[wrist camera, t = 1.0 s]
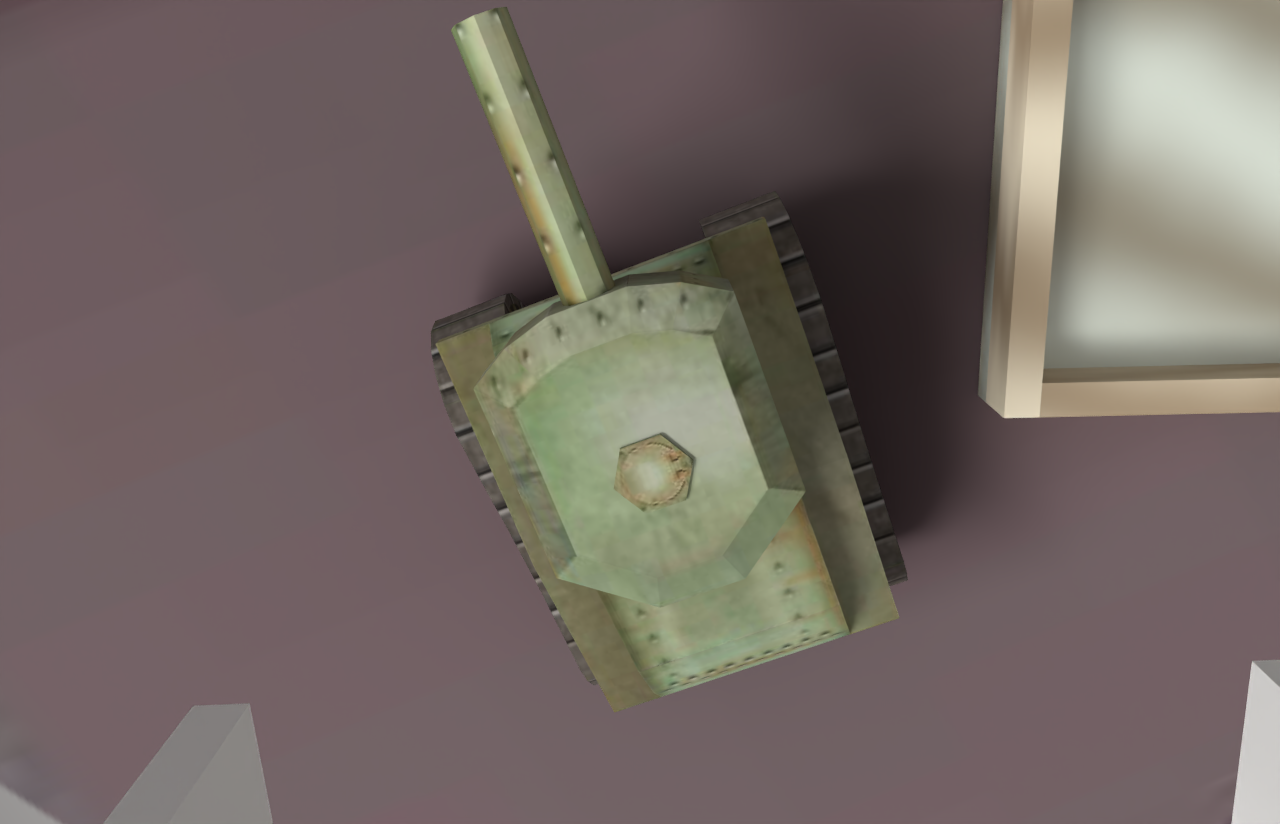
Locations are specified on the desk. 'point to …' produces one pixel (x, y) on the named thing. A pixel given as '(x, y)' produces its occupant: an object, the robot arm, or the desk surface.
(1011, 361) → the beige tray
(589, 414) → the toy
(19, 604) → the desk surface
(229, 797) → the robot arm
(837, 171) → the desk surface
